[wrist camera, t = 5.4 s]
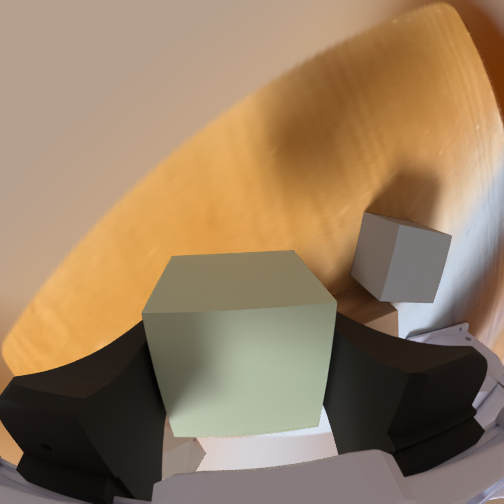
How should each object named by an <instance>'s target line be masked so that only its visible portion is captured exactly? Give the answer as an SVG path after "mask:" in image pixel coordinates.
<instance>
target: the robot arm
mask: <svg viewBox="0 0 504 504" xmlns="http://www.w3.org/2000/svg"><path fill="white" fill-rule="evenodd" d="M468 328H469V324H468V323H467V322H465V323H462V324H458V325H455V326H451V327H448V328H444V329H440V330H437V331H433V332H429V333H425V334H421V335H417V336H413V337H409V338H407V339H402V338H399V337H395V336H392V335H389V334H386V333H383V332H380V331H377V330H375V329H372V328H370V327H368V326H365V325H363V324H361V323H359V322H357V321H355V320H353V319H351V318H349V317H347V316H345V315H343V314H341V313H339V312H337V311H336V318H335V327H334V335H333V342H332V350H331V357H330V364H329V370H328V376H327V382H326V388H325V394H324V400H323V406H324V408H325V411H326V414H327V416H328V420H329V423H330V426H331V429H332V433H333V436H334V440H335V444H336V447H337V451H338V455H337V456H333V457H329V458H324V459H319V460H314V461H309V462H302V463H297V464H290V465H283V466H275V467H266V468H257V469H244V470H222V471H199V472H189V473H177V474H174V475H172V476H170V477H168V478H166V479H164V480H162V457H163V440H164V427H165V421H166V415H167V413H166V409H165V406H164V403H163V399H162V396H161V392H160V389H159V385H158V382H157V378H156V374H155V370H154V367H153V363H152V359H151V354H150V350H149V346H148V342H147V337H146V333H145V328H144V323H143V320H142V321H140V322H139V323H138V324H137V325H135V326H134V327H133V328H131V329H130V330H129V331H127V332H126V333H125V334H123V335H122V336H120V337H119V338H117V339H116V340H115V341H113V342H112V343H110V344H109V345H107V346H105V347H104V348H102V349H100V350H98V351H96V352H94V353H93V354H91V355H89V356H86V357H84V358H82V359H79V360H77V361H75V362H72V363H70V364H67V365H64V366H61V367H58V368H55V369H51V370H48V371H44V372H39V373H34V374H28V375H23V376H16V377H14V378H13V379H12V380H11V381H10V383H9V384H8V386H7V387H6V388H5V390H4V391H3V392H2V394H1V395H0V420H1V422H2V423H3V425H4V427H5V428H6V430H7V431H8V432H9V434H10V435H11V436H12V438H13V439H14V440H15V442H16V443H17V444H18V446H19V447H20V448H21V449H22V451H23V452H24V453H23V455H22V458H21V460H20V462H19V464H18V466H16V465H14V464H12V463H10V462H8V461H6V460H3V459H2V458H1V456H0V504H484V503H485V502H487V501H488V500H491V499H496V498H504V368H503V365H502V362H501V361H500V359H499V357H498V356H497V355H496V354H495V353H494V352H492V351H491V350H490V349H489V348H487V347H486V346H485V345H484V344H483V343H481V342H480V341H479V340H478V339H476V338H475V337H474V336H473V335H471V334H470V333H469V332H468Z"/></svg>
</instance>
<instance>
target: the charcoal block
mask: <svg viewBox="0 0 504 504" xmlns="http://www.w3.org/2000/svg"><path fill="white" fill-rule="evenodd" d="M451 239H452V236H451V235H448V234H445V233H443V232H440V231H437V230H434V229H432V228H429V227H426V226H423V225H420V224H418V223H415V222H411V221H406V220H402V219H397V218H392V217H388V216H383V215H378V214H373V213H368V212H364V214H363V219H362V224H361V229H360V234H359V238H358V243H357V248H356V252H355V256H354V261H353V265H352V269H351V273H350V275H351V276H352V277H353V278H354V279H355V280H357V281H358V282H359V283H360V284H361V285H362V286H363V287H364V288H366V289H367V290H368V291H369V292H370V293H371V294H372V295H373V296H375V297H376V298H377V299H378V300H379V301H385V302H412V303H433V302H434V299H435V296H436V293H437V289H438V286H439V283H440V280H441V277H442V273H443V270H444V266H445V262H446V259H447V255H448V251H449V247H450V243H451Z"/></svg>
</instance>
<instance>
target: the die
mask: <svg viewBox="0 0 504 504" xmlns="http://www.w3.org/2000/svg"><path fill="white" fill-rule="evenodd" d="M205 454H206V452H205V451H204V450H203V448H202V446H201V445H200V443H199V441H198V440H197V438H196V437H174V434H173V431H172V428H171V425H170V422H169V419H168V416H167V415H166V421H165V427H164V440H163V457H162V480H164V479H166V478H168V477H170V476H172V475H174V474H177V473H189V472H196V470H197V468H198V466H199V465H200V463H201V461H202V459H203V458H204V456H205Z"/></svg>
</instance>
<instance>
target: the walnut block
mask: <svg viewBox="0 0 504 504" xmlns="http://www.w3.org/2000/svg"><path fill="white" fill-rule="evenodd" d="M333 297H334V299H335V300H336V301H337V309H336V311H337V312H339V313H341V314H343V315H345V316H347V317H349V318H351V319H353V320H355V321H357V322H359V323H361V324H363V325H365V326H368V327H370V328H372V329H375V330H377V331H380V332H383V333H386V334H389V335H392V336H395V337H398V310H397V309H396V308H395V307H394V306H392V305H391V304H390V303H389V302H385V301H379V300H378V299H377V298H376V297H375V296H373V295H372V294H371V293H370V292H369V291H368V290H367V289H366V288H364V287H363V286H359V287H356V288H354V289H351V290H348V291H346V292H343V293H340V294H337V295H334V296H333Z"/></svg>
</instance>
